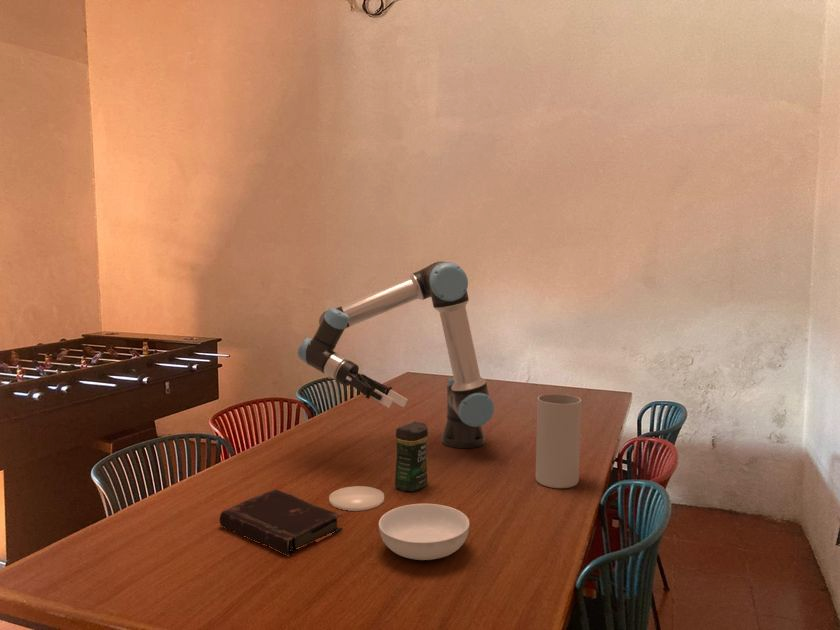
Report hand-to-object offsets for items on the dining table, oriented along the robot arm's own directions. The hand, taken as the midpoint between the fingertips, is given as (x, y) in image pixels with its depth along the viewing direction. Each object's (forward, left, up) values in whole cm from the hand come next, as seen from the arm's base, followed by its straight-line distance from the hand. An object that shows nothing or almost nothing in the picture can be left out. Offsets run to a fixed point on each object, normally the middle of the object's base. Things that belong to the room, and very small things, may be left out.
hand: (399, 403), depth 200 cm
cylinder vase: (-47, +6, -22) cm, 52 cm away
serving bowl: (-7, +49, -22) cm, 54 cm away
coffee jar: (-4, +10, -22) cm, 24 cm away
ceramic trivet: (+11, +20, -22) cm, 32 cm away
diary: (+28, +38, -23) cm, 52 cm away
